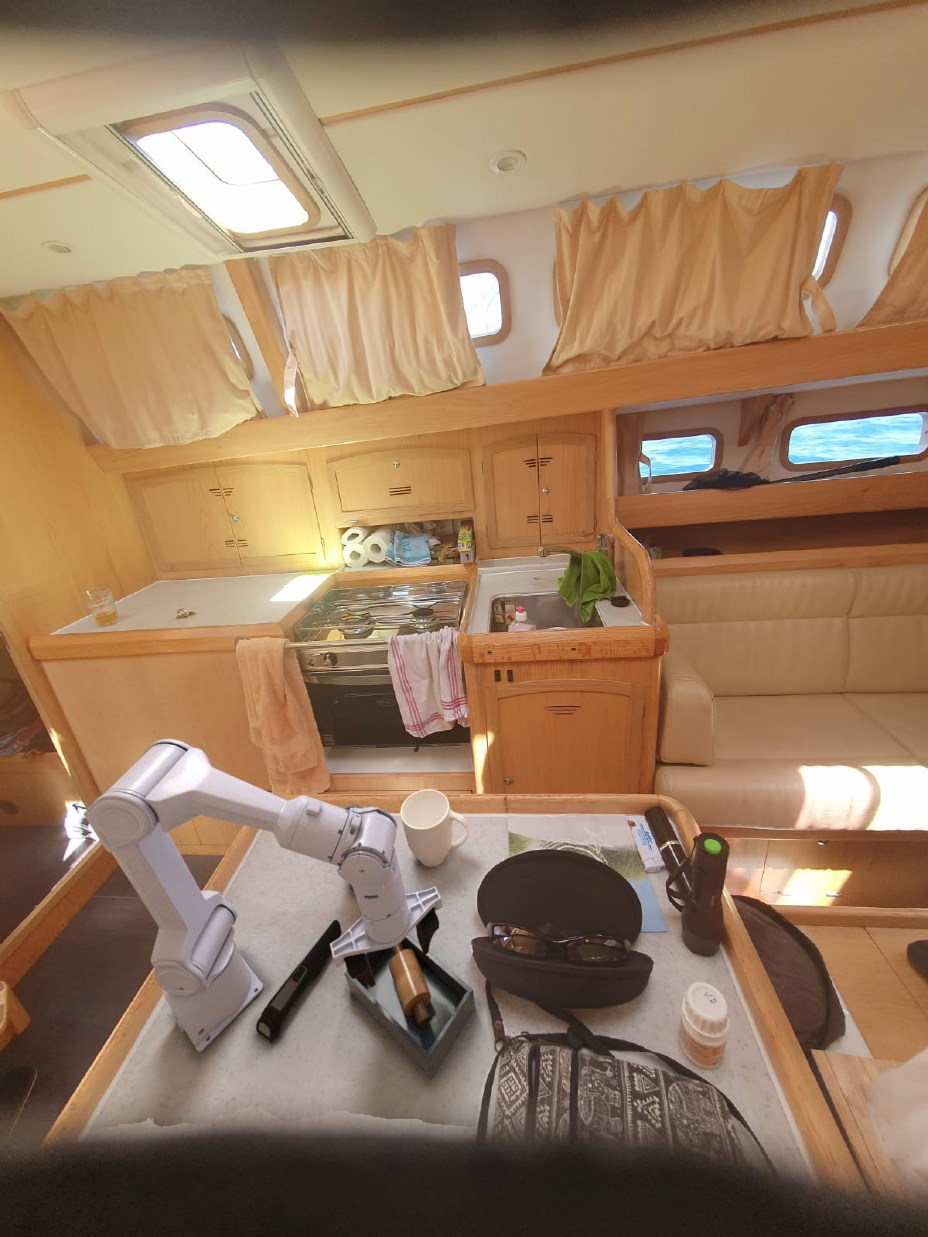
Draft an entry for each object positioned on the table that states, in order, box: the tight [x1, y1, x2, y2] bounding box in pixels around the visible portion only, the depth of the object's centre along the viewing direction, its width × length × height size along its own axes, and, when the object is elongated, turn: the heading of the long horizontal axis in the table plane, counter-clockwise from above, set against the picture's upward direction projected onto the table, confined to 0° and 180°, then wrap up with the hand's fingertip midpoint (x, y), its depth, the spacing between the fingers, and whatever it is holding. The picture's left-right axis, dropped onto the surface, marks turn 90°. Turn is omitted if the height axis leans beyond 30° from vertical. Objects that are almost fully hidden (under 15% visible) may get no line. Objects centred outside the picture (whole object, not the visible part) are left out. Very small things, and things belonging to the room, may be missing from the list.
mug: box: [399, 788, 469, 868], centre depth 83 cm, size 12×9×12 cm
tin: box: [343, 933, 476, 1080], centre depth 63 cm, size 9×16×4 cm, turn 52°
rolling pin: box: [389, 941, 431, 1028], centre depth 64 cm, size 4×11×4 cm, turn 28°
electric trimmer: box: [255, 919, 343, 1043], centre depth 67 cm, size 4×16×3 cm, turn 153°
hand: (398, 962), depth 62 cm, fingers open, 7 cm apart
